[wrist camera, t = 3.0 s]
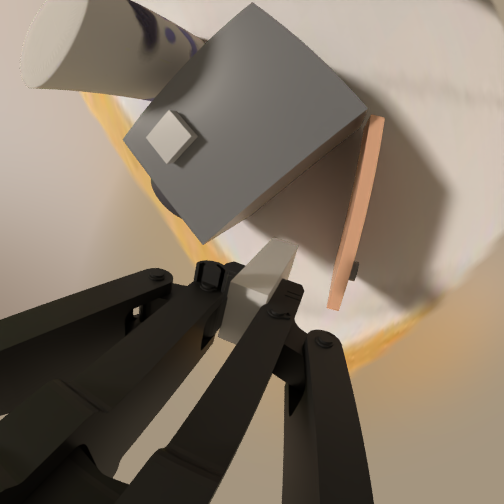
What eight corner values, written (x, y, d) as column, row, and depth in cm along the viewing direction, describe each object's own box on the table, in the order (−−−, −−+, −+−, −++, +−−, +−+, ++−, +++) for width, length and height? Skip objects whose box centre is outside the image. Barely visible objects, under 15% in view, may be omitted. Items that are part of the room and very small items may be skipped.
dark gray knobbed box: (286, 49, 27) (248, -4, 15) (360, 127, 27) (369, 105, 15) (176, 154, 35) (101, 160, 23) (235, 228, 35) (178, 265, 24)
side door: (363, 128, 26) (370, 114, 17) (382, 133, 26) (398, 121, 17) (334, 264, 32) (326, 307, 23) (351, 269, 31) (350, 313, 22)
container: (226, 62, 29) (105, -3, 11) (171, 119, 33) (34, 111, 15) (180, 23, 29) (66, -32, 11) (134, 76, 33) (11, 57, 15)
